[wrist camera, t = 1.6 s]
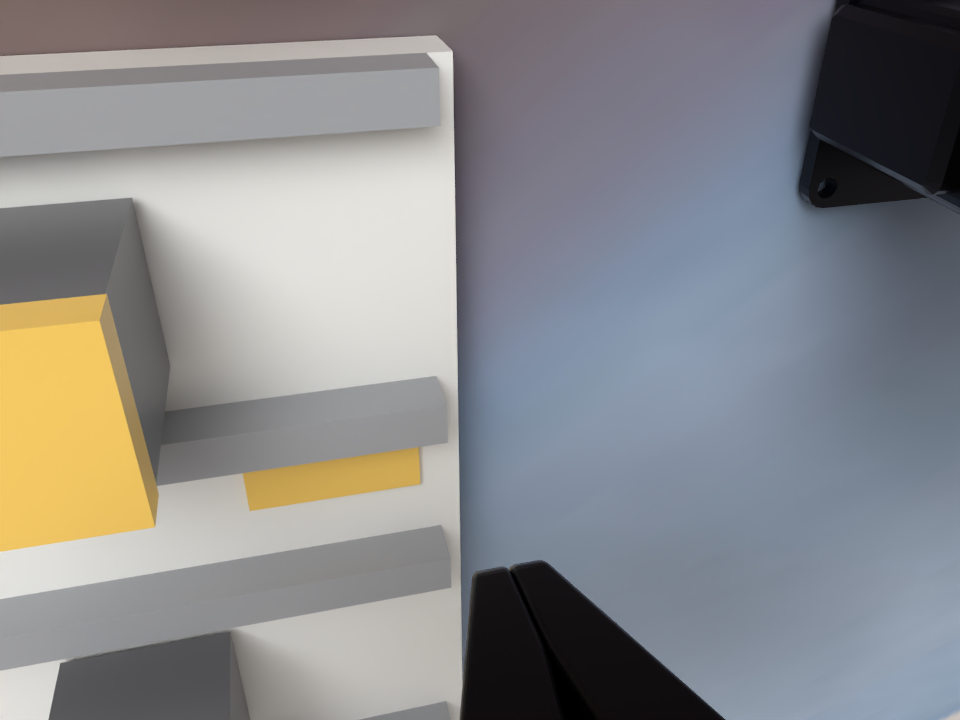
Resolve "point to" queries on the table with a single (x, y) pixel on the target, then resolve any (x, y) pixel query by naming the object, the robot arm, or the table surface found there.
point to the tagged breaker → (77, 374)
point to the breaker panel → (267, 369)
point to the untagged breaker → (154, 684)
